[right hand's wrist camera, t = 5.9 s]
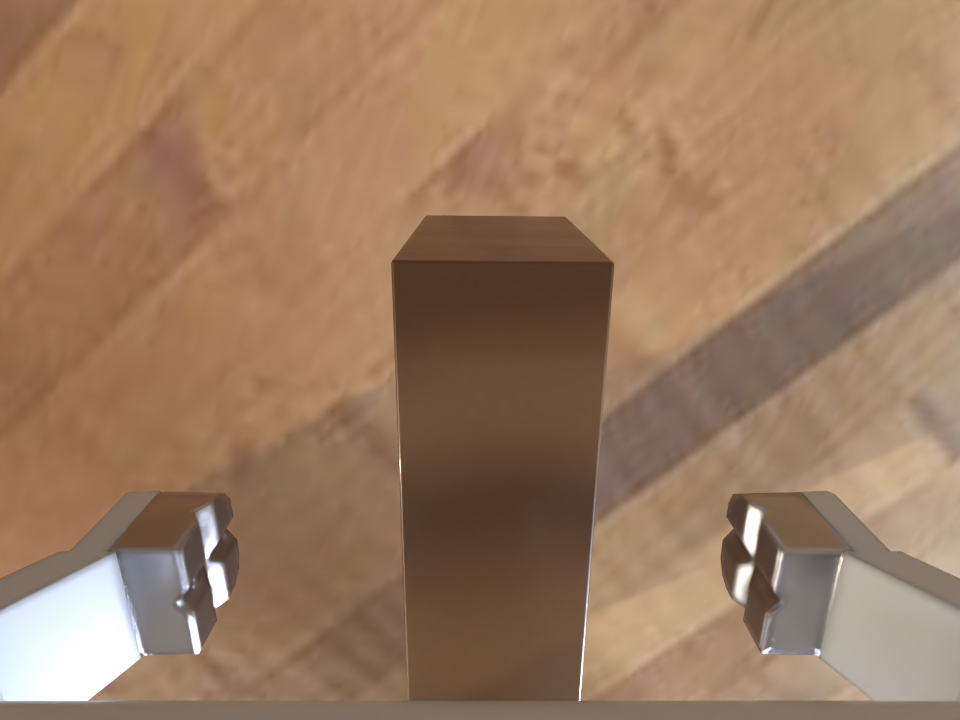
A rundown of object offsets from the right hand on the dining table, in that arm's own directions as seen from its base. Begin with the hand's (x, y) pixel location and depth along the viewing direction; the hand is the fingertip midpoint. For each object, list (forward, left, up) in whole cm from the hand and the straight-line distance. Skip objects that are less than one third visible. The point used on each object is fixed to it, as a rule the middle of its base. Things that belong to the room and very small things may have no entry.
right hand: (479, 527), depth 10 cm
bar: (-10, +2, -12) cm, 16 cm away
